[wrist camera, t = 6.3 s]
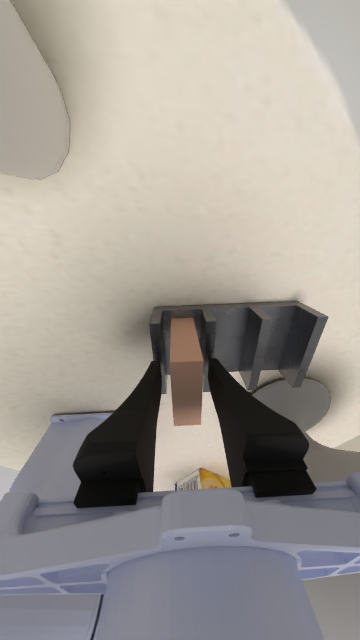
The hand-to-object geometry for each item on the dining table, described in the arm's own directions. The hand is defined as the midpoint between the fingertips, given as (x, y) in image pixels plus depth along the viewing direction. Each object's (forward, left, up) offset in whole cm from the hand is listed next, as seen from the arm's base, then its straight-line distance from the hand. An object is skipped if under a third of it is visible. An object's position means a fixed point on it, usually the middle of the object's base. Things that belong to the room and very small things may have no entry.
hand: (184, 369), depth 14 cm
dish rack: (+4, 0, -4) cm, 6 cm away
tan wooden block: (0, 0, -3) cm, 3 cm away
